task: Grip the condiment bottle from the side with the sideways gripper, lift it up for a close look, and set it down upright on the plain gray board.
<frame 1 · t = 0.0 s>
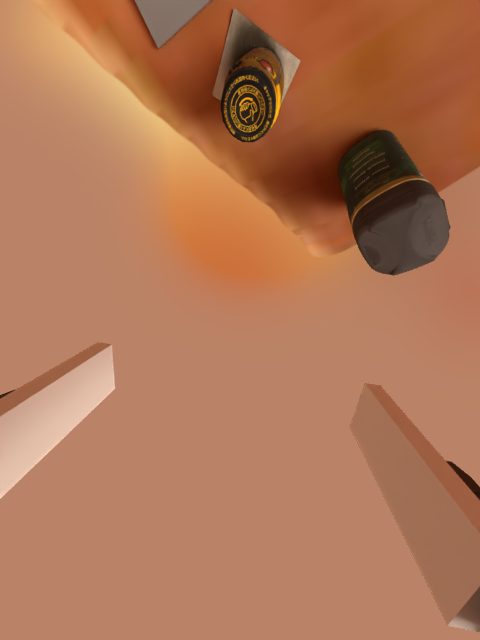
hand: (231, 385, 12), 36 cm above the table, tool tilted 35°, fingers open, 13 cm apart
coffee jar: (369, 170, 33), on the table
condiment: (254, 78, 27), on the table
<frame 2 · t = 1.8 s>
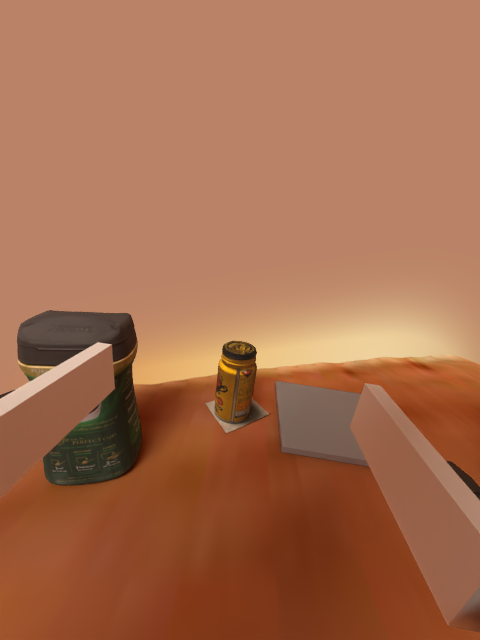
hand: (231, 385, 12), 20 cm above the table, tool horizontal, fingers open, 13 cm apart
coffee jar: (98, 457, 28), on the table
condiment: (236, 410, 38), on the table
plain gray board: (329, 420, 38), on the table
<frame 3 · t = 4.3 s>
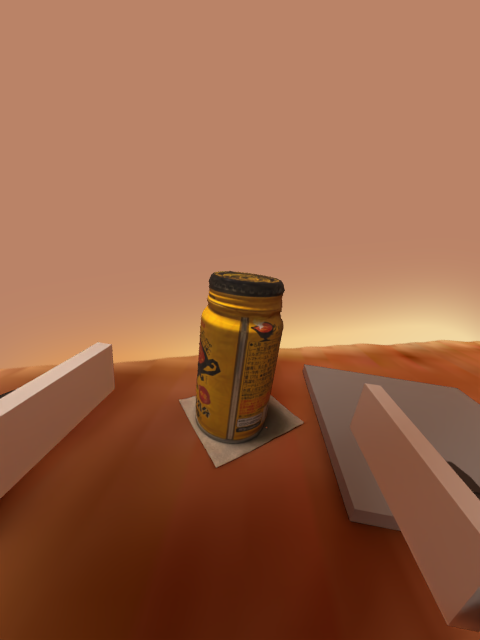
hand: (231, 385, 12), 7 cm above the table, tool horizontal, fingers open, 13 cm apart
condiment: (239, 415, 20), on the table
plain gray board: (420, 435, 20), on the table
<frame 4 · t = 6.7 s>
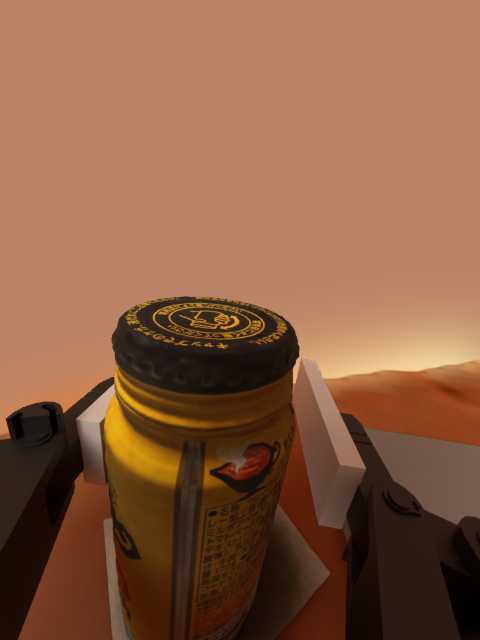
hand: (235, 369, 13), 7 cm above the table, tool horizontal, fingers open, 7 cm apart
condiment: (211, 551, 11), on the table, touching gripper
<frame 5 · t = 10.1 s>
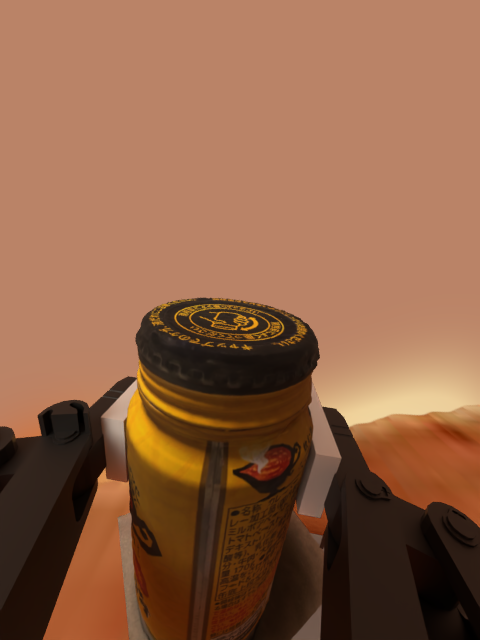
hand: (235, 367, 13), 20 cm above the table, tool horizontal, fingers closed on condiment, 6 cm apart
condiment: (223, 551, 11), point 13 cm above the table, touching gripper
when the fingers open (9 cm above the table, at t = 13.2 s): condiment drops 1 cm, resting on plain gray board.
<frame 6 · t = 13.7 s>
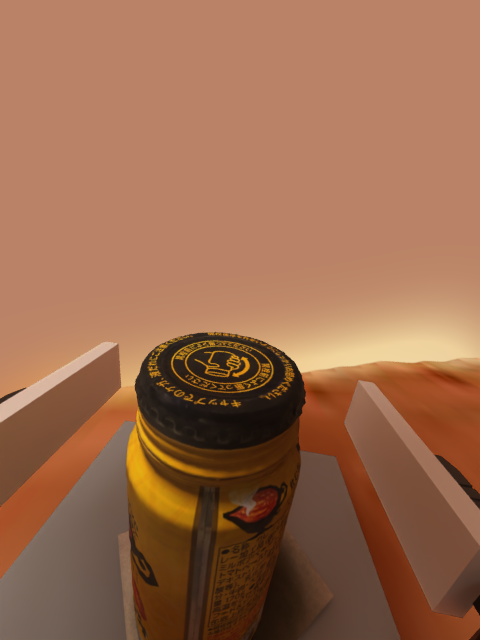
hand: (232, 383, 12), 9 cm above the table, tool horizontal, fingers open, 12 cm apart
condiment: (219, 569, 11), point 1 cm above the table, touching plain gray board
plain gray board: (204, 578, 12), on the table
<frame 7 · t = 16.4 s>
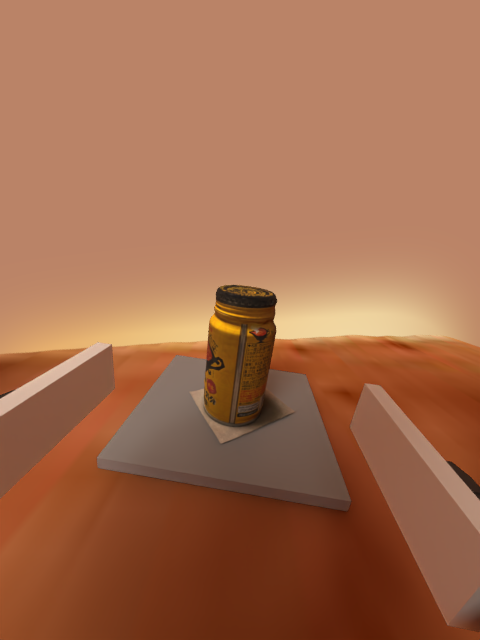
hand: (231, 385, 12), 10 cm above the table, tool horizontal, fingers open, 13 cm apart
condiment: (240, 405, 23), point 1 cm above the table, touching plain gray board
plain gray board: (232, 410, 23), on the table
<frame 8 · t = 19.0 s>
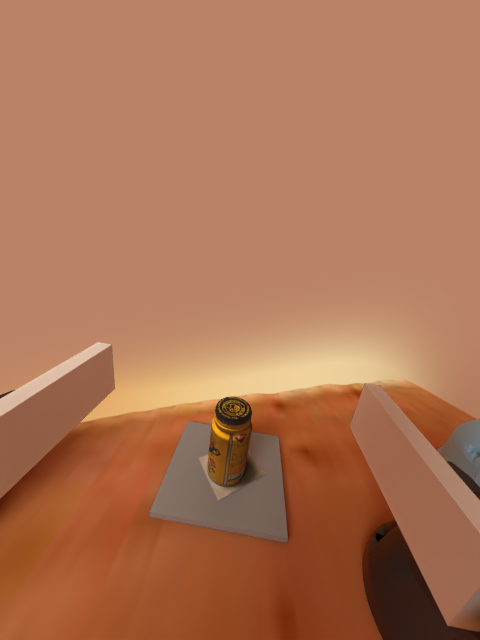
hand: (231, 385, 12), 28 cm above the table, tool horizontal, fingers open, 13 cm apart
condiment: (231, 467, 36), point 1 cm above the table, touching plain gray board
plain gray board: (226, 470, 36), on the table
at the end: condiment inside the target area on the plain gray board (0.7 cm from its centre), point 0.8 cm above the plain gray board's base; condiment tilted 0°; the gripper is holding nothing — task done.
